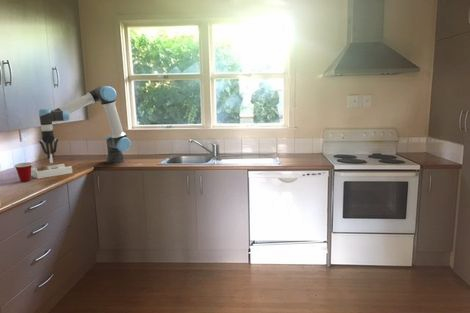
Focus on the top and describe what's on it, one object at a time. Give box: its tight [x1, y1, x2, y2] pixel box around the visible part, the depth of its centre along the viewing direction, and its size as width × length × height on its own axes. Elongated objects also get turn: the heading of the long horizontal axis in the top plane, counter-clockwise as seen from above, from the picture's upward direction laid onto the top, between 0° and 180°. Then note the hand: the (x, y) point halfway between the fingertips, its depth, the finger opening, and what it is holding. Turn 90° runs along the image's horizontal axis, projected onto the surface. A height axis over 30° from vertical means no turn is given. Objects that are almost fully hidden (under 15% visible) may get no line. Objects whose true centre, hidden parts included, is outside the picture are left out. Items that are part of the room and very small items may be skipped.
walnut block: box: [36, 165, 48, 171], centre depth 259 cm, size 6×6×4 cm
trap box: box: [31, 163, 73, 179], centre depth 266 cm, size 24×16×5 cm, turn 134°
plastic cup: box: [14, 162, 33, 183], centre depth 244 cm, size 11×11×12 cm
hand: (51, 162), depth 263 cm, fingers closed
